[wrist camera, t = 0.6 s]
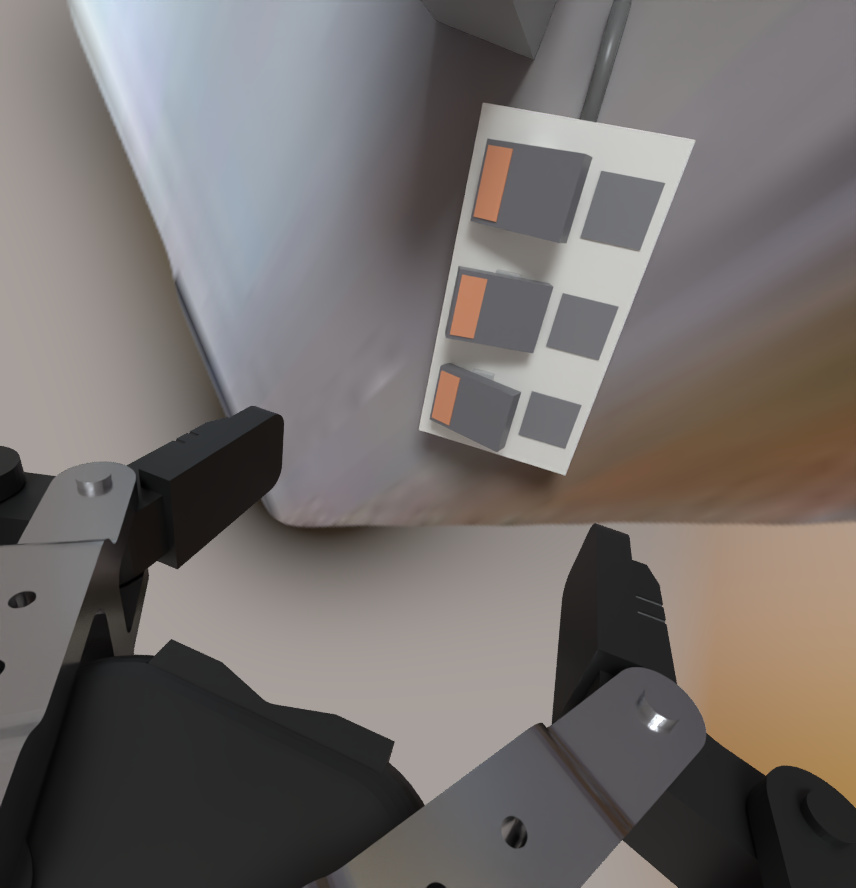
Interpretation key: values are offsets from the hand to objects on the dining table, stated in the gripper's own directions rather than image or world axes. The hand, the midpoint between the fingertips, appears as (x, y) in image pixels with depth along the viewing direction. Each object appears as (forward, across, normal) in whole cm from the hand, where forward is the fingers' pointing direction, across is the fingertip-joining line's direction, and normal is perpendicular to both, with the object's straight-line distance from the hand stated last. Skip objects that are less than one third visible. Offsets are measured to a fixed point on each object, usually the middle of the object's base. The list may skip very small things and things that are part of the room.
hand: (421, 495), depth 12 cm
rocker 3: (+22, +2, +7) cm, 23 cm away
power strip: (+28, 0, -3) cm, 28 cm away
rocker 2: (+22, +2, 0) cm, 22 cm away
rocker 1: (+22, +2, -7) cm, 23 cm away
